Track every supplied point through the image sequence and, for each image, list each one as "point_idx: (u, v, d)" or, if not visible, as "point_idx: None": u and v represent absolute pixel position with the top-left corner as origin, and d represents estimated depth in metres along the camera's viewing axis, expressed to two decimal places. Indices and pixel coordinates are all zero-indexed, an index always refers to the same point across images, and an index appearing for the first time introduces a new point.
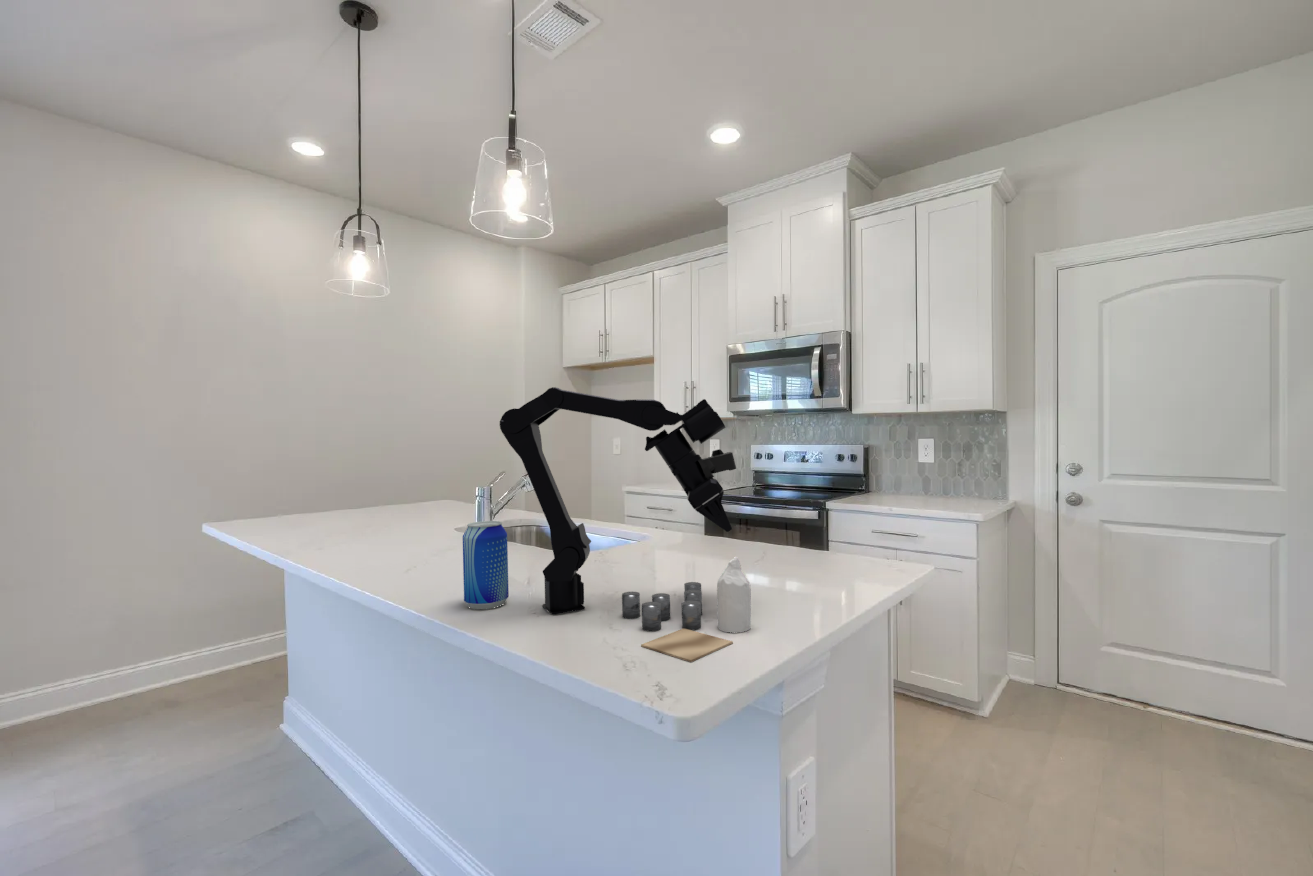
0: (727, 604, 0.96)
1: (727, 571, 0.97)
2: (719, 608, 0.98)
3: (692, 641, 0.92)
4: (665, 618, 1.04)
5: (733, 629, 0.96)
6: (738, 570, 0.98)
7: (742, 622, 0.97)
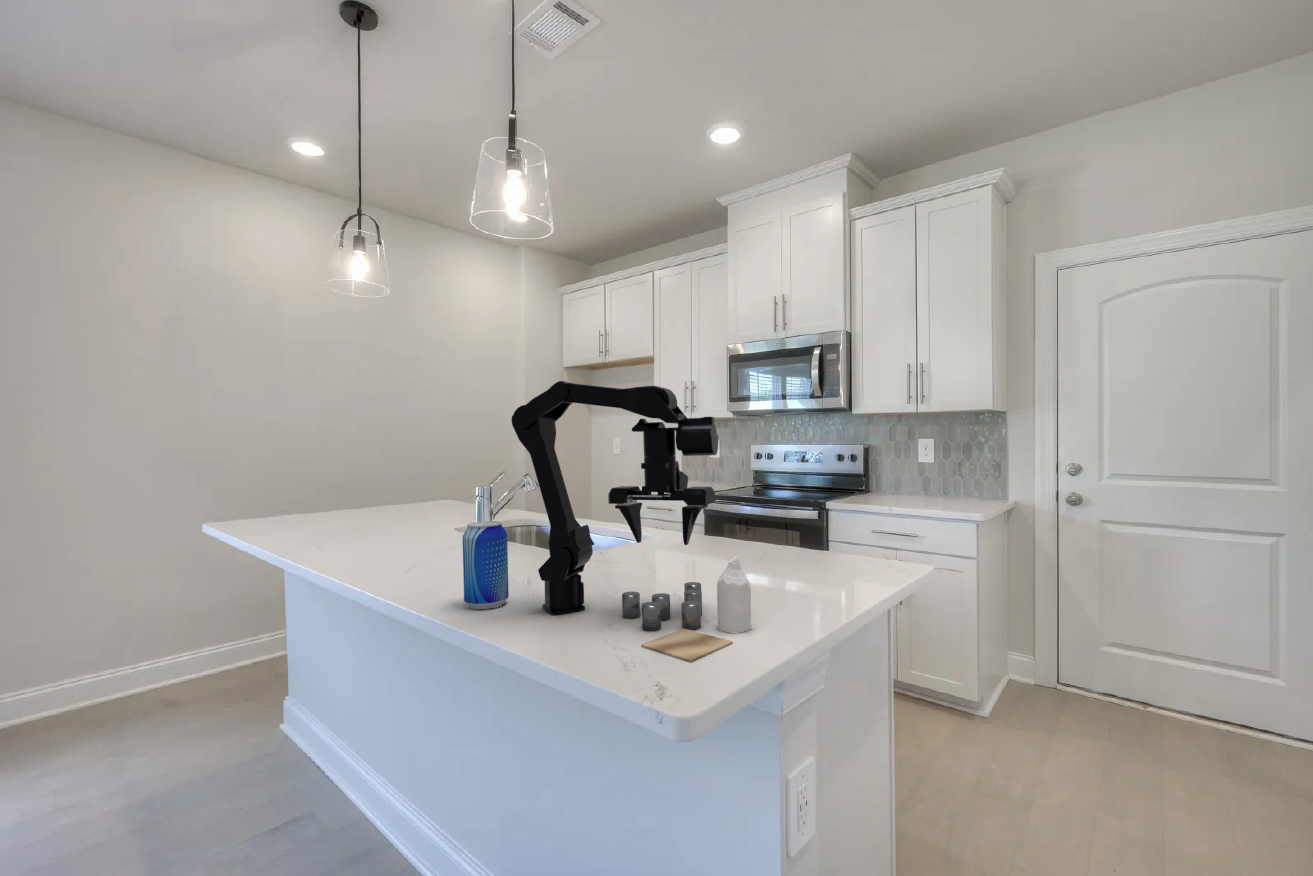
0: (727, 604, 0.96)
1: (727, 571, 0.97)
2: (719, 608, 0.98)
3: (692, 641, 0.92)
4: (665, 618, 1.04)
5: (733, 629, 0.96)
6: (738, 570, 0.98)
7: (742, 622, 0.97)
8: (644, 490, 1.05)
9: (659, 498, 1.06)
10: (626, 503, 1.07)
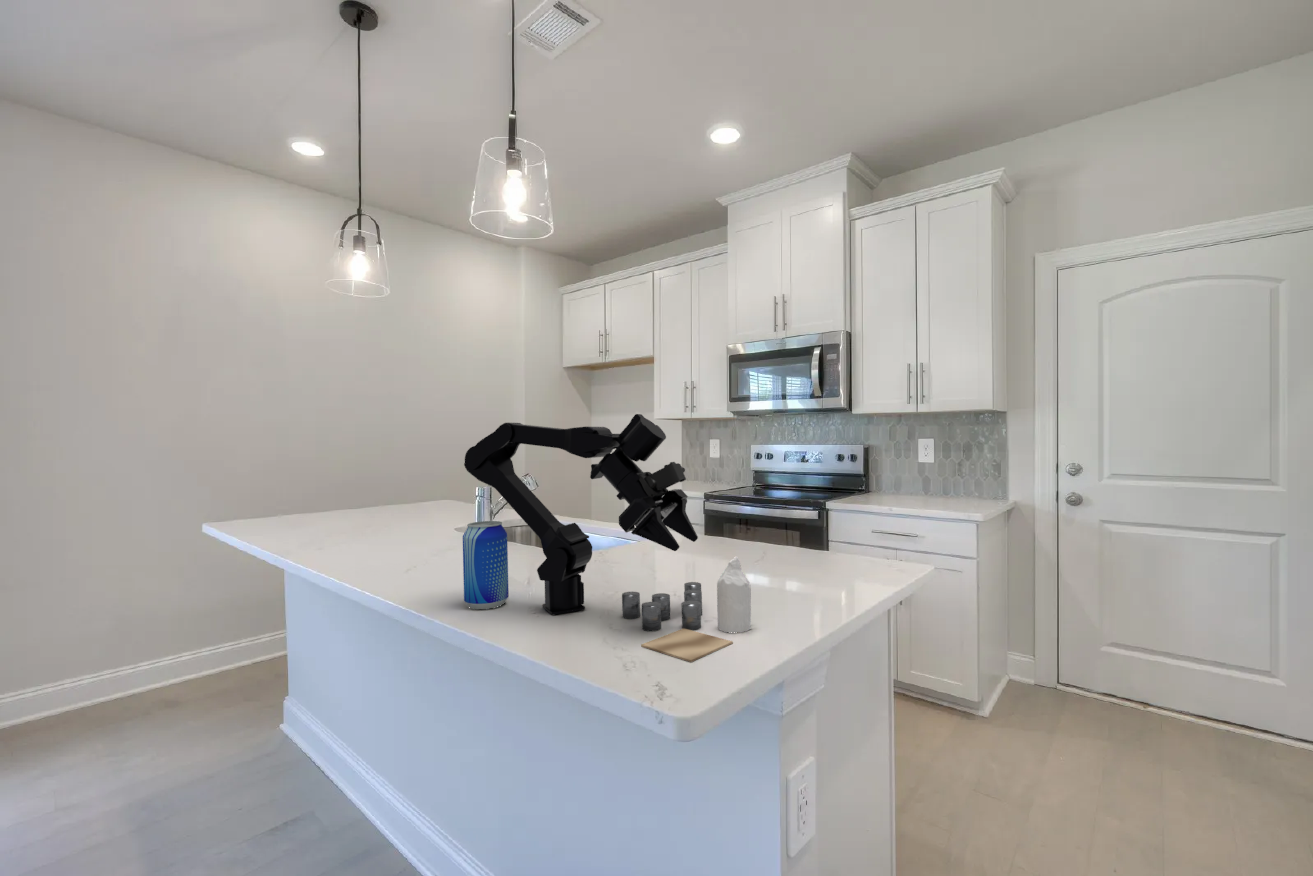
0: (727, 604, 0.96)
1: (727, 571, 0.97)
2: (719, 608, 0.98)
3: (692, 641, 0.92)
4: (665, 618, 1.04)
5: (733, 629, 0.96)
6: (738, 570, 0.98)
7: (742, 622, 0.97)
8: None
9: None
10: (664, 517, 1.10)
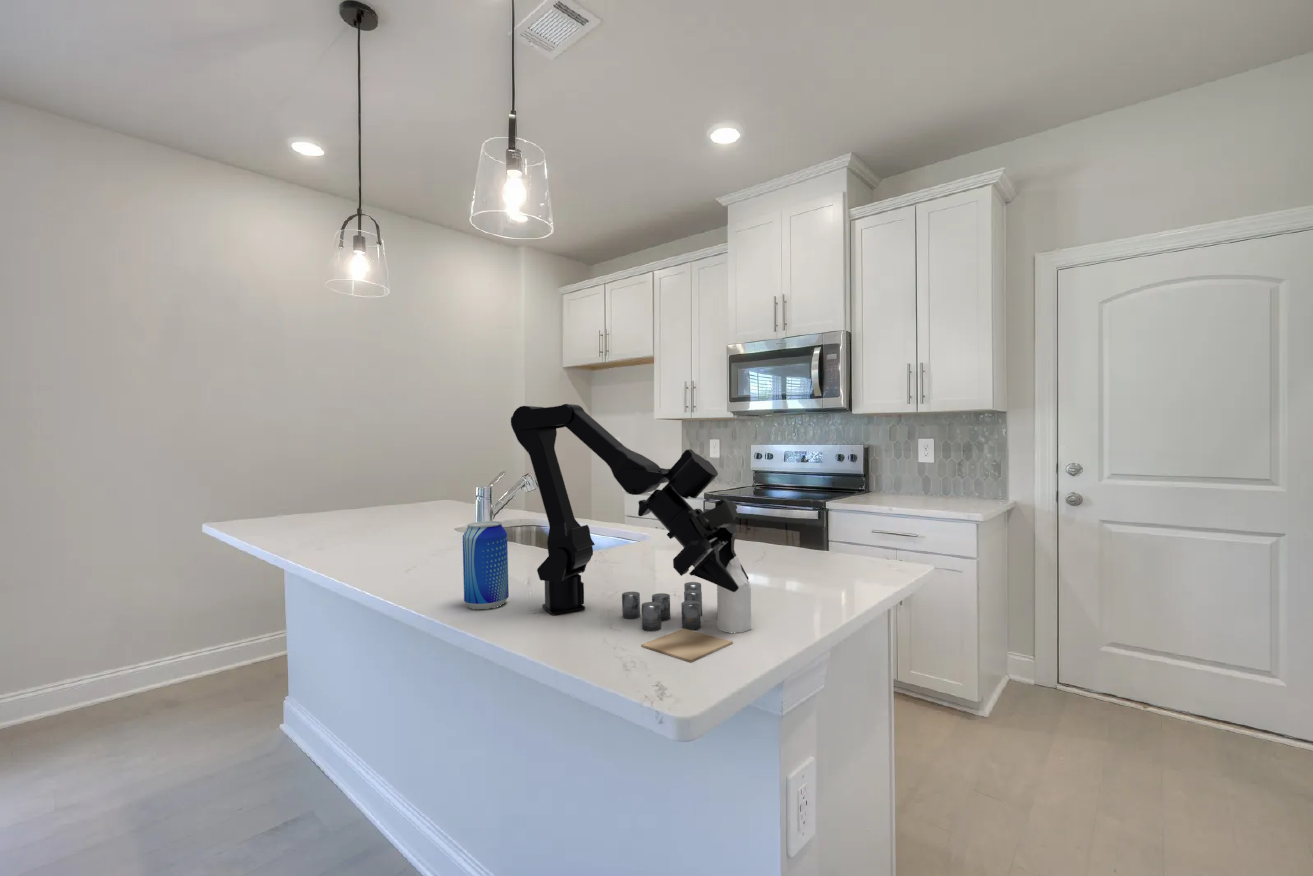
0: (727, 604, 0.96)
1: None
2: (719, 608, 0.98)
3: (692, 641, 0.92)
4: (665, 618, 1.04)
5: (733, 629, 0.96)
6: (738, 570, 0.98)
7: (742, 621, 0.97)
8: None
9: None
10: None
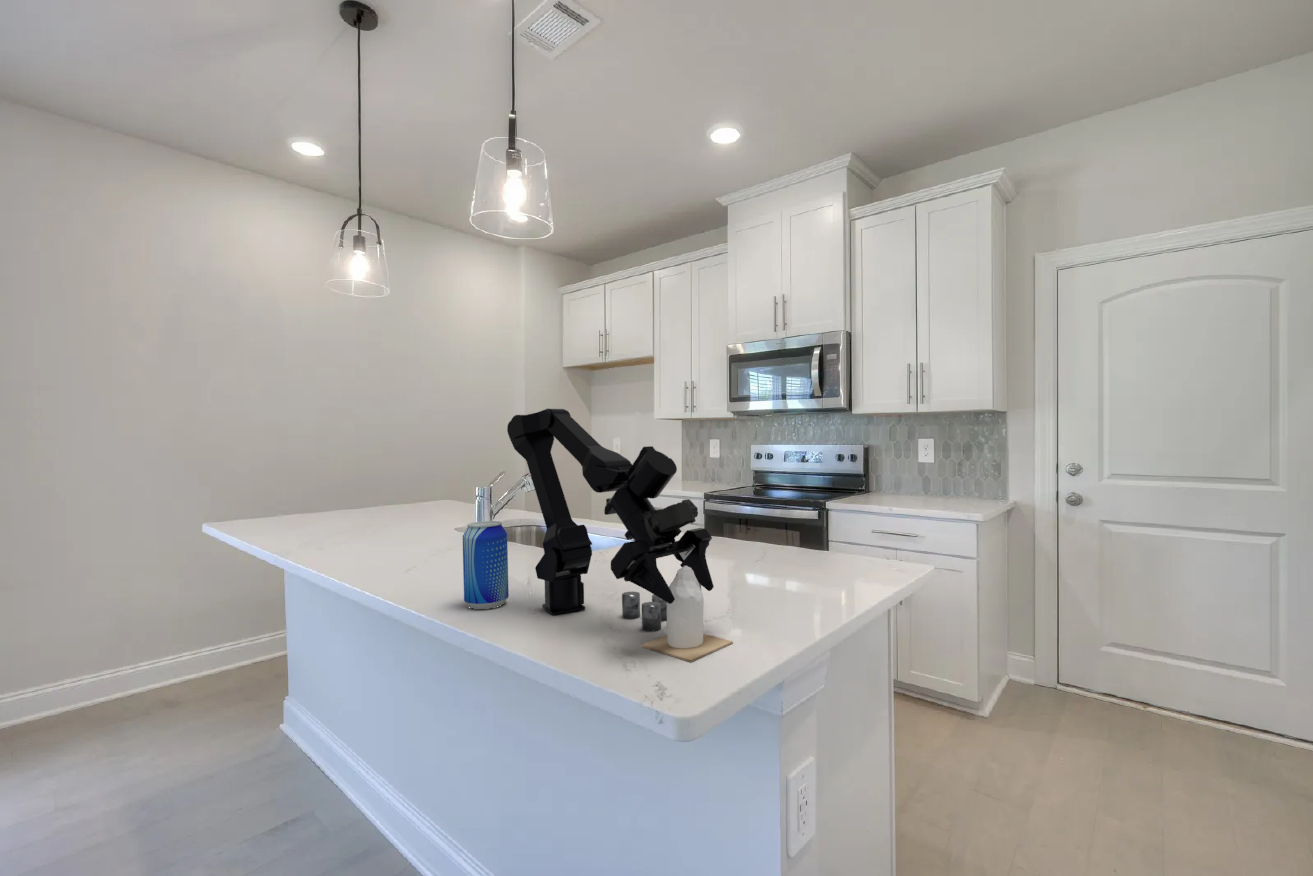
0: (671, 616, 0.89)
1: (674, 581, 0.90)
2: (667, 619, 0.91)
3: None
4: (665, 618, 1.04)
5: (676, 644, 0.89)
6: (686, 580, 0.90)
7: (687, 637, 0.89)
8: None
9: None
10: None
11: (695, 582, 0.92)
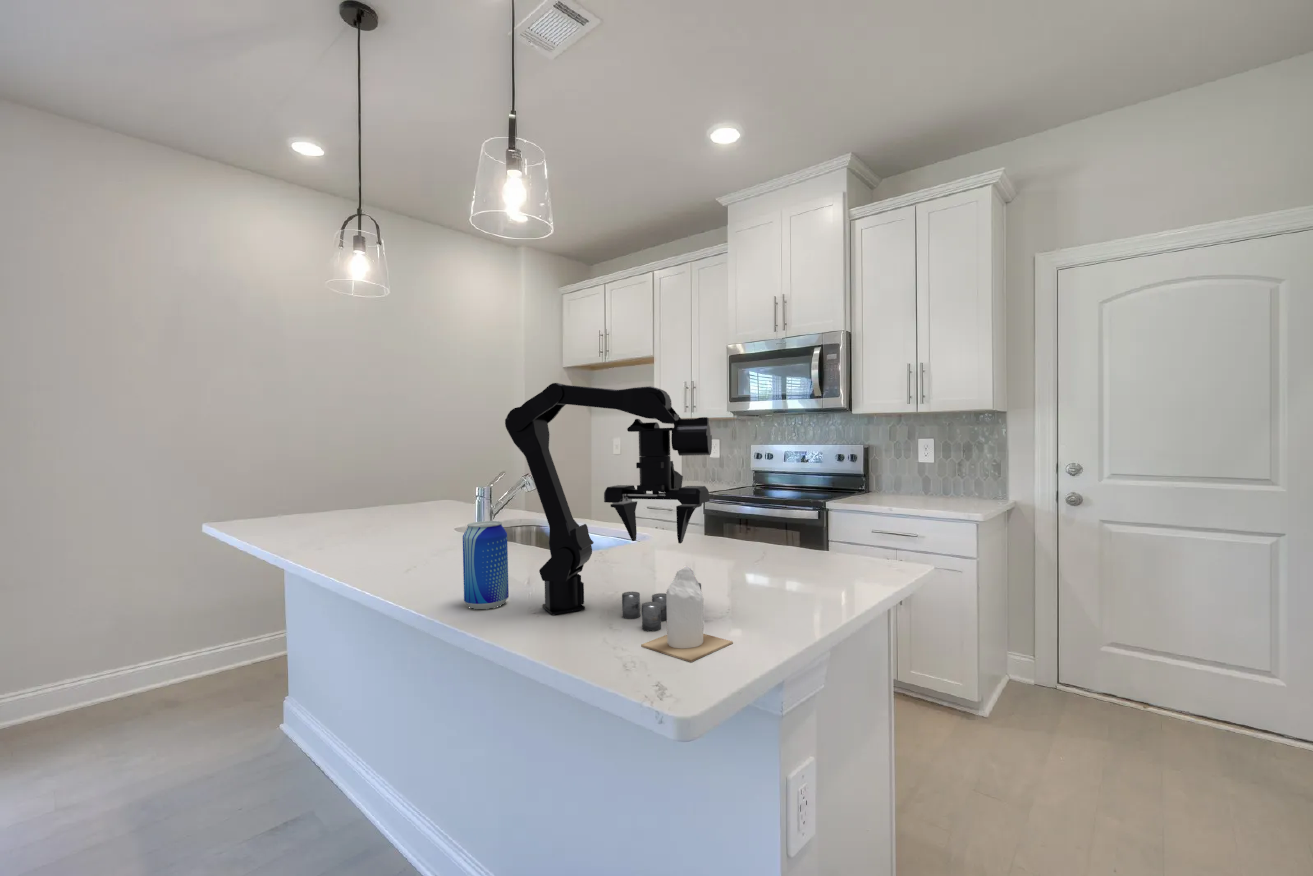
0: (671, 616, 0.89)
1: (674, 581, 0.90)
2: None
3: None
4: (665, 618, 1.04)
5: (676, 644, 0.89)
6: (686, 580, 0.90)
7: (687, 637, 0.89)
8: (639, 489, 1.06)
9: (654, 497, 1.08)
10: (621, 502, 1.09)
11: (695, 582, 0.92)
